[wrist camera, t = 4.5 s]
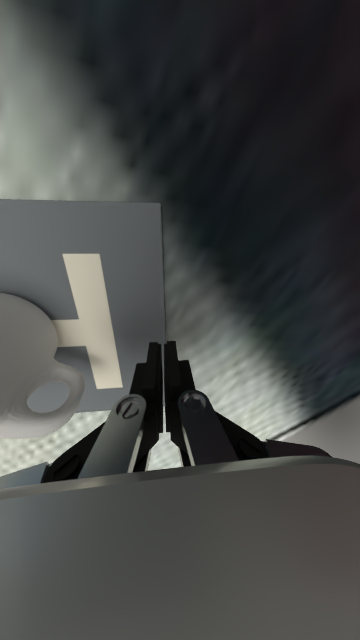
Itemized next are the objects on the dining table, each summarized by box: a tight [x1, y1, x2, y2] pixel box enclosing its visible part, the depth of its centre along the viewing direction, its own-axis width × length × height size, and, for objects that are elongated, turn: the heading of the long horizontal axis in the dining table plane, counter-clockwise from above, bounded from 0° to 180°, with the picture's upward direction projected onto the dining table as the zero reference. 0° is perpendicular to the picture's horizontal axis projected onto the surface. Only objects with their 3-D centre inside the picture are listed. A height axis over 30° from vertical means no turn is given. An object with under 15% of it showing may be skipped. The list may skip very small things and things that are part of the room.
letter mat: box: [0, 199, 166, 413], centre depth 13 cm, size 20×18×1 cm
